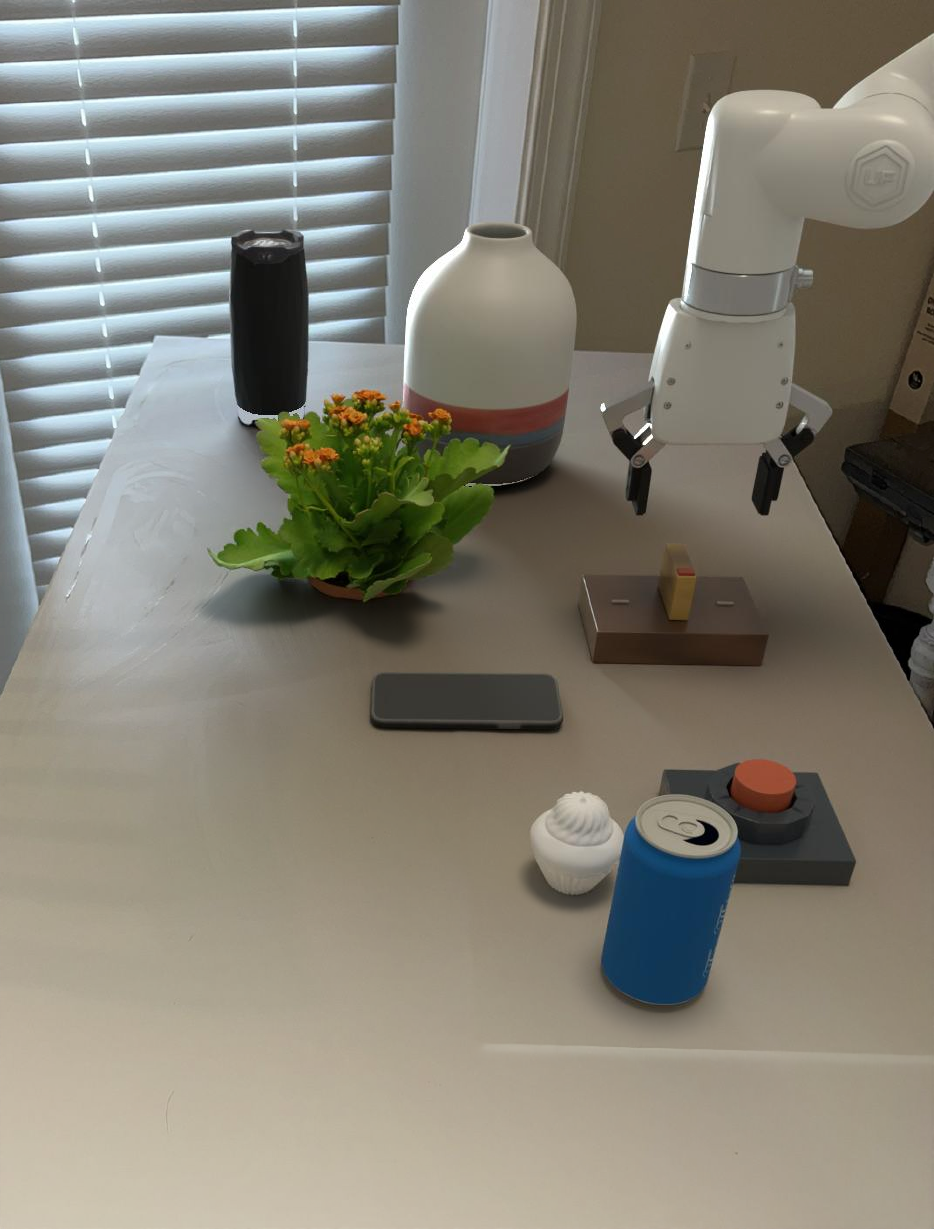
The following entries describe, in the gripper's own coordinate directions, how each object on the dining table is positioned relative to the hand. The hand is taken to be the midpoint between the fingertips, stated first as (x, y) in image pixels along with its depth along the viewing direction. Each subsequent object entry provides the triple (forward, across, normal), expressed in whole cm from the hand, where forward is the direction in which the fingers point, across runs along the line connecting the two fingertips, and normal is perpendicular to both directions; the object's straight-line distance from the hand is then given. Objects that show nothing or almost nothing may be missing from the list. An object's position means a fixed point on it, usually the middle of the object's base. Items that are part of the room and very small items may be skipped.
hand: (698, 508), depth 107 cm
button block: (+12, 0, +27) cm, 30 cm away
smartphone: (+12, +19, +11) cm, 25 cm away
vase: (+12, +15, -36) cm, 40 cm away
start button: (+8, -1, +27) cm, 29 cm away
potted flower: (+12, +27, -11) cm, 31 cm away
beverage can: (+12, +8, +41) cm, 44 cm away
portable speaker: (+11, +38, -48) cm, 62 cm away
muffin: (+12, +12, +32) cm, 37 cm away
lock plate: (+12, +1, -1) cm, 12 cm away
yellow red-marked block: (+9, +1, -1) cm, 9 cm away
